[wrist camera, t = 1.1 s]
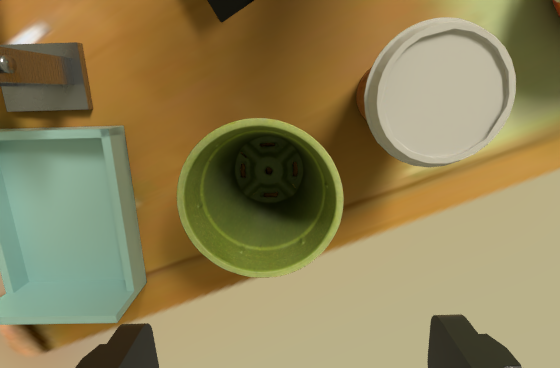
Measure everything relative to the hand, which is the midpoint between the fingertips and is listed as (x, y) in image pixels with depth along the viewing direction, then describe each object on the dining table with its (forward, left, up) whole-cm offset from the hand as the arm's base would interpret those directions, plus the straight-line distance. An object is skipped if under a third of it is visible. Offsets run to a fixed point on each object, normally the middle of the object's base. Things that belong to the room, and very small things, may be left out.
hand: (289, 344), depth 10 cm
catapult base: (-9, -23, -26) cm, 36 cm away
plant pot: (+1, -2, -26) cm, 26 cm away
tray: (+5, -23, -26) cm, 35 cm away
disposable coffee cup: (-6, +10, -26) cm, 29 cm away
